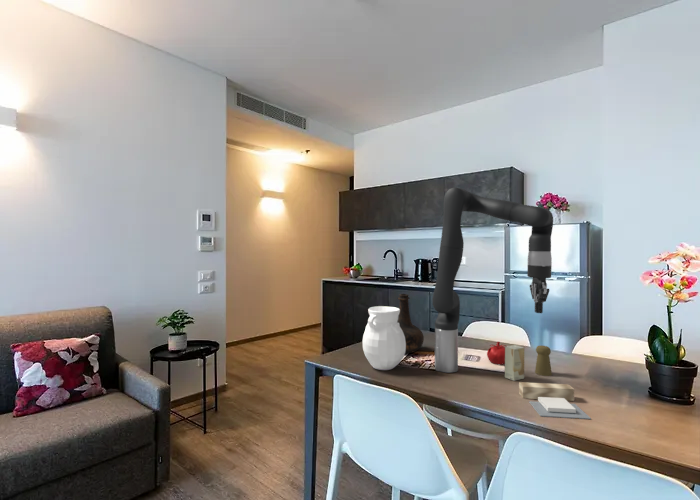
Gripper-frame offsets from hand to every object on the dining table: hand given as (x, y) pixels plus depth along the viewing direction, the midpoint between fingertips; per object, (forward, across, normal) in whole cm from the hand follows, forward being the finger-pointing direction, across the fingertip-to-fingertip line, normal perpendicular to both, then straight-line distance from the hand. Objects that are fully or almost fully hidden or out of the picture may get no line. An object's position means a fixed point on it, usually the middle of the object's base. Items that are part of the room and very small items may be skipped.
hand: (538, 312), depth 127 cm
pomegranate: (+28, -30, -6) cm, 42 cm away
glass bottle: (+29, -42, -47) cm, 70 cm away
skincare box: (+28, -11, -5) cm, 30 cm away
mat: (+28, +16, +1) cm, 32 cm away
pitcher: (+29, -17, -56) cm, 65 cm away
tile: (+25, +10, +1) cm, 28 cm away
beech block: (+28, +6, +1) cm, 28 cm away
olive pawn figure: (+28, -18, +8) cm, 34 cm away
